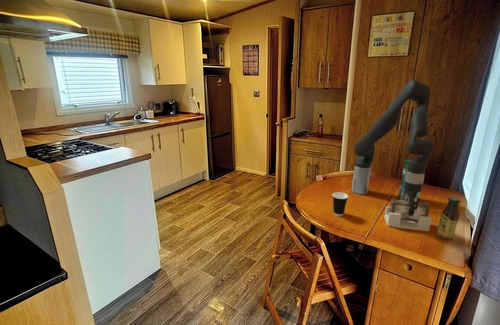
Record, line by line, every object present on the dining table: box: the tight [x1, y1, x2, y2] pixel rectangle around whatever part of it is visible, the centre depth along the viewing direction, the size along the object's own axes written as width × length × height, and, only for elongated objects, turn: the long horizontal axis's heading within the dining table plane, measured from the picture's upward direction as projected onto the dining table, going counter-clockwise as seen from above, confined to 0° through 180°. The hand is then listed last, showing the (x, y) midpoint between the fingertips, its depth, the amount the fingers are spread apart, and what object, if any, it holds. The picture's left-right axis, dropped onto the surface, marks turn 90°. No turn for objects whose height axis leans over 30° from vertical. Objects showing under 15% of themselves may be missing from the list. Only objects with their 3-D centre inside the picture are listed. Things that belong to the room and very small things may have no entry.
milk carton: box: [397, 159, 421, 200], centre depth 158 cm, size 9×9×25 cm
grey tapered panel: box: [389, 198, 431, 222], centre depth 132 cm, size 16×4×9 cm, turn 74°
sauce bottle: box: [436, 196, 461, 241], centre depth 121 cm, size 6×6×20 cm
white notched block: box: [384, 205, 433, 232], centre depth 134 cm, size 18×9×7 cm, turn 74°
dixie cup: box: [332, 191, 349, 217], centre depth 144 cm, size 8×8×11 cm
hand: (408, 211), depth 133 cm, fingers open, 8 cm apart
